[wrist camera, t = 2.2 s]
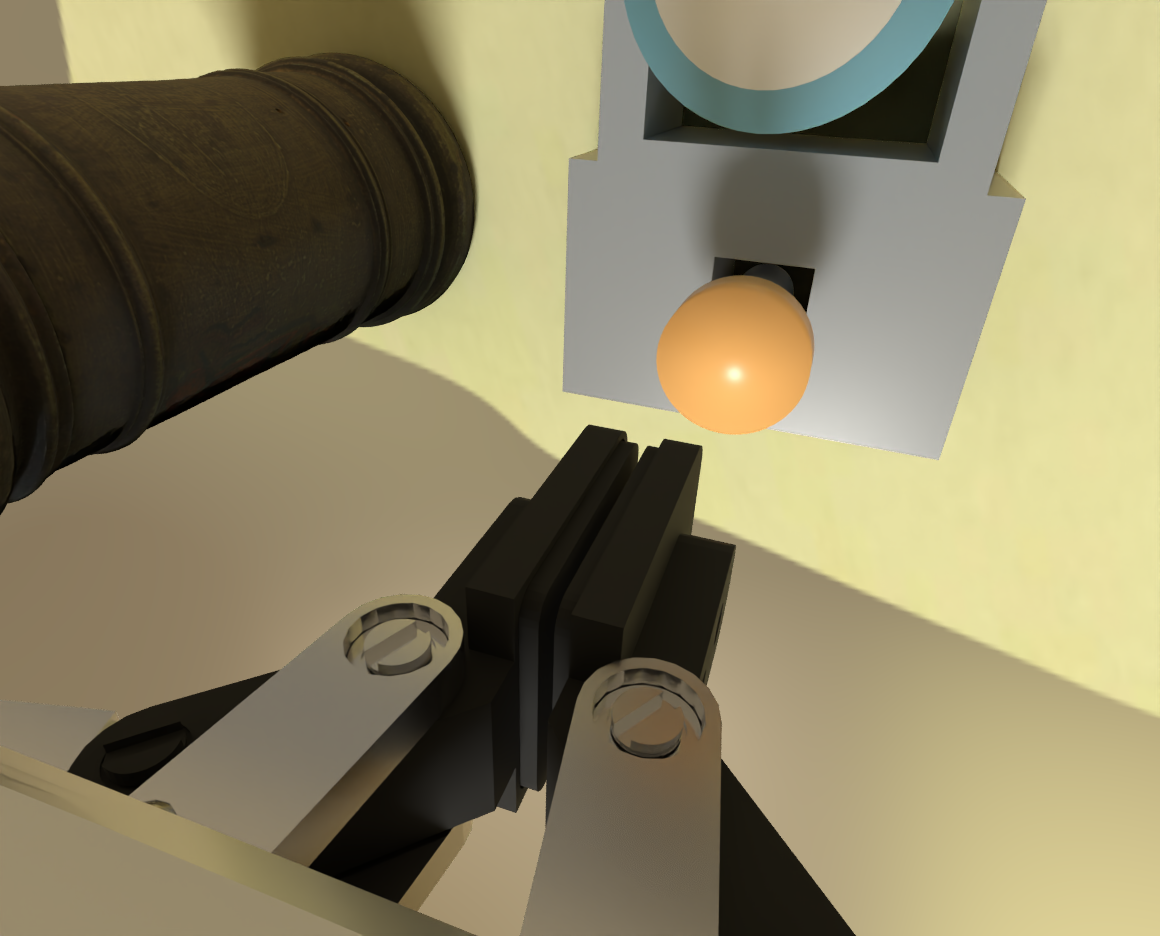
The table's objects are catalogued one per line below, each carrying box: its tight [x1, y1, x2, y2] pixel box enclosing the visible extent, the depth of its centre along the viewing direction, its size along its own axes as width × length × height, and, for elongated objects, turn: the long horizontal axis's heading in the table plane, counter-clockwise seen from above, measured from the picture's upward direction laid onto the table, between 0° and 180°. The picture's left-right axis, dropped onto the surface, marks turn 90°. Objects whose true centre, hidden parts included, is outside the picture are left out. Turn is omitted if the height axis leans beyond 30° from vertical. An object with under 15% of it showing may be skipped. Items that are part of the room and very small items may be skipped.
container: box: [0, 53, 474, 515], centre depth 19 cm, size 9×9×18 cm
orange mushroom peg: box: [656, 264, 814, 434], centre depth 19 cm, size 3×3×6 cm
